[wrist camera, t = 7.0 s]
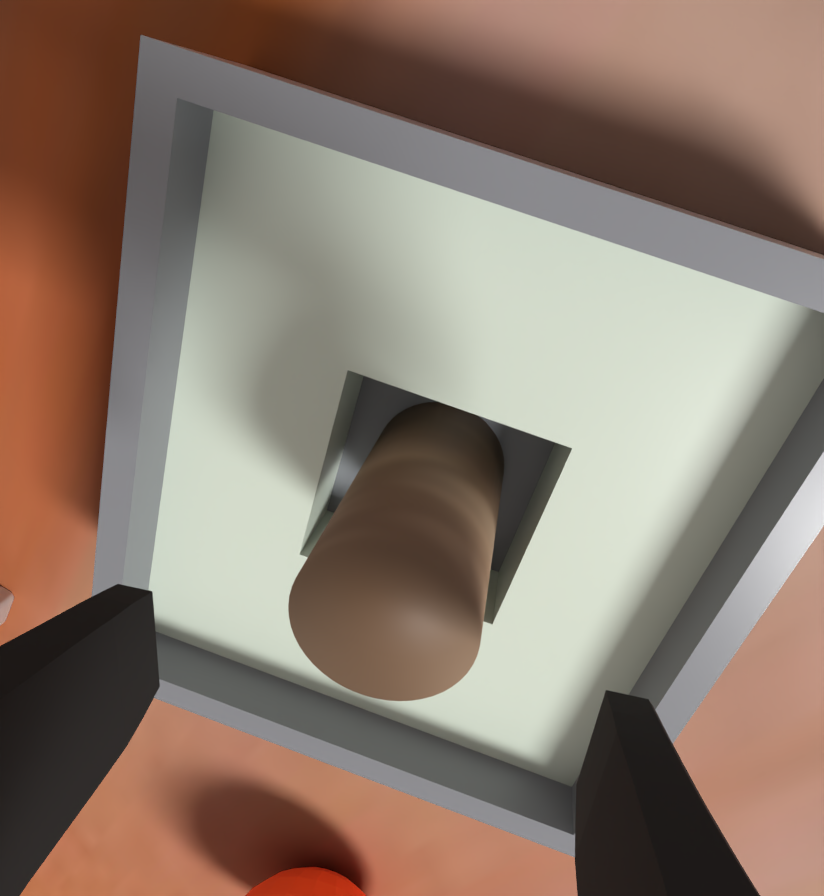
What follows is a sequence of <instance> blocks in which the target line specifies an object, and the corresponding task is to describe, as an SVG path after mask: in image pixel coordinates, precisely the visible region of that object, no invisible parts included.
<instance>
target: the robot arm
mask: <svg viewBox="0 0 824 896" xmlns="http://www.w3.org/2000/svg"><path fill="white" fill-rule="evenodd" d="M159 687H160V683H159V670H158V657H157V644H156V631H155V618H154V605H153V592H152V591H149V590H144V589H140V588H135V587H130V586H126V585H121V584H116V585H114V586H112V587H110V588H108V589H106V590H104V591H102V592H100V593H98V594H96V595H94V596H93V597H91V598H89V599H87V600H85V601H83V602H81V603H79V604H78V605H76V606H74V607H72V608H70V609H68V610H66V611H65V612H63V613H61V614H59V615H57V616H55V617H54V618H52V619H50V620H48V621H46V622H44V623H43V624H41V625H39V626H37V627H35V628H33V629H31V630H30V631H28V632H26V633H24V634H22V635H20V636H18V637H16V638H15V639H13V640H11V641H9V642H7V643H5V644H3V645H1V646H0V896H20V894H21V893H22V891H23V890H24V888H25V887H26V885H27V884H28V882H29V881H30V880H31V878H32V877H33V875H34V874H35V873H36V871H37V870H38V869H39V867H40V866H41V864H42V863H43V862H44V860H45V859H46V858H47V856H48V855H49V853H50V852H51V851H52V849H53V848H54V847H55V845H56V844H57V842H58V841H59V840H60V838H61V837H62V836H63V834H64V833H65V831H66V830H67V829H68V827H69V826H70V825H71V823H72V822H73V820H74V819H75V818H76V816H77V815H78V814H79V812H80V811H81V809H82V808H83V807H84V805H85V804H86V803H87V801H88V800H89V798H90V797H91V796H92V794H93V793H94V791H95V790H96V789H97V787H98V786H99V784H100V783H101V782H102V780H103V779H104V777H105V776H106V775H107V773H108V772H109V770H110V769H111V768H112V766H113V765H114V763H115V762H116V761H117V759H118V758H119V756H120V755H121V754H122V752H123V751H124V749H125V748H126V746H127V745H128V743H129V741H130V740H131V738H132V736H133V734H134V733H135V731H136V729H137V727H138V726H139V724H140V722H141V720H142V719H143V717H144V715H145V713H146V711H147V709H148V708H149V706H150V704H151V702H152V700H153V698H154V696H155V694H156V693H157V691H158V689H159ZM575 866H576V879H577V891H578V896H760V895H759V893H758V892H757V890H756V888H755V887H754V885H753V884H752V882H751V880H750V879H749V877H748V876H747V874H746V872H745V871H744V869H743V867H742V866H741V864H740V863H739V861H738V859H737V858H736V856H735V854H734V853H733V851H732V849H731V847H730V846H729V844H728V842H727V841H726V839H725V837H724V836H723V834H722V832H721V830H720V829H719V827H718V825H717V824H716V822H715V820H714V818H713V817H712V815H711V813H710V812H709V810H708V808H707V806H706V805H705V803H704V801H703V799H702V797H701V796H700V794H699V792H698V790H697V789H696V787H695V785H694V783H693V781H692V779H691V777H690V776H689V774H688V772H687V770H686V768H685V766H684V765H683V763H682V761H681V759H680V757H679V755H678V753H677V751H676V749H675V748H674V746H673V744H672V742H671V740H670V738H669V736H668V734H667V732H666V730H665V728H664V726H663V724H662V722H661V720H660V718H659V716H658V714H657V712H656V710H655V708H654V707H653V705H652V704H651V702H650V701H649V699H646V698H641V697H636V696H632V695H627V694H623V693H618V692H613V691H609V690H606V691H605V694H604V698H603V701H602V704H601V707H600V710H599V714H598V717H597V720H596V723H595V727H594V730H593V733H592V736H591V739H590V743H589V746H588V749H587V752H586V755H585V759H584V762H583V765H582V768H581V772H580V775H579V778H578V781H577V784H576V816H575Z"/></svg>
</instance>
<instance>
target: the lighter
mask: <svg viewBox="0 0 824 896" xmlns="http://www.w3.org/2000/svg"><path fill="white" fill-rule="evenodd" d="M13 600H14V596H13V594H12V592H10V591H9V590H7V589H5V588H3V587H2V586H0V625H1V624H2V623H4V622H5V621H6V618H7V616H8V613H9V610H10V608H11V605H12V602H13Z"/></svg>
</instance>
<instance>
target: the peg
mask: <svg viewBox="0 0 824 896" xmlns="http://www.w3.org/2000/svg"><path fill="white" fill-rule="evenodd" d="M503 475H504V456H503V450H502V448H501V445H500V442H499V440H498V438H497V436H496V435H495V433H494V432H493V430H492V429H491V428H490V426H489V425H488V424H487V423H486V422H485V421H484V420H483V419H481V418H480V417H479V416H478V415H475V414H472V413H469V412H466V411H464V410H461V409H458V408H455V407H452V406H449V405H446V404H444V403H441V402H427V403H421V404H418V405H414V406H411V407H409V408H407V409H405V410H403V411H402V412H400V413H398V414H397V415H396V416H395V417H394V418H392V419H391V421H390V422H389V423H388V424H387V425H386V427H385V428H384V430H383V431H382V433H381V435H380V436H379V438H378V440H377V441H376V443H375V445H374V446H373V448H372V450H371V452H370V453H369V455H368V457H367V458H366V460H365V462H364V463H363V465H362V467H361V468H360V470H359V472H358V474H357V475H356V477H355V479H354V480H353V482H352V484H351V485H350V487H349V489H348V490H347V492H346V494H345V496H344V497H343V499H342V501H341V502H340V504H339V506H338V507H337V509H336V511H335V512H334V514H333V516H332V517H331V519H330V521H329V523H328V524H327V526H326V528H325V529H324V531H323V533H322V534H321V536H320V538H319V539H318V541H317V543H316V545H315V546H314V548H313V550H312V551H311V553H310V555H309V556H308V558H307V560H306V561H305V563H304V565H303V567H302V568H301V570H300V572H299V573H298V575H297V577H296V579H295V581H294V583H293V585H292V588H291V591H290V595H289V603H288V612H289V620H290V625H291V628H292V631H293V634H294V637H295V639H296V641H297V642H298V644H299V646H300V648H301V649H302V651H303V652H304V654H305V655H306V656H307V658H308V659H309V660H310V661H311V662H312V663H313V665H315V666H316V667H317V668H318V669H319V670H320V671H321V672H322V673H323V674H325V675H326V676H327V677H329V678H330V679H331V680H333V681H335V682H336V683H338V684H339V685H341V686H343V687H345V688H347V689H349V690H351V691H354V692H356V693H359V694H362V695H364V696H368V697H372V698H376V699H382V700H388V701H413V700H419V699H424V698H428V697H432V696H435V695H437V694H439V693H442V692H444V691H446V690H447V689H449V688H451V687H453V686H454V685H455V684H456V683H458V682H459V681H460V680H461V679H462V678H463V677H464V676H465V675H466V674H467V673H468V671H469V670H470V669H471V667H472V666H473V664H474V662H475V660H476V657H477V655H478V651H479V648H480V642H481V635H482V628H483V621H484V613H485V606H486V599H487V592H488V584H489V577H490V570H491V562H492V555H493V548H494V541H495V533H496V526H497V519H498V511H499V504H500V497H501V490H502V482H503Z"/></svg>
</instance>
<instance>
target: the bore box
mask: <svg viewBox="0 0 824 896" xmlns="http://www.w3.org/2000/svg"><path fill="white" fill-rule="evenodd" d="M427 402H441V403H444V404H446V405H449V406H452V407H455V408H458V409H461V410H464V411H466V412H469V413H472V414H475V415H478V416H479V417H480V418H481V419H483V420H484V421H485V422H486V423H487V424H488V425H489V426H490V428H491V429H492V430H493V432H494V433H495V435H496V436H497V438H498V440H499V442H500V445H501V448H502V450H503V456H504V475H503V482H502V490H501V497H500V504H499V511H498V519H497V526H496V533H495V541H494V548H493V555H492V562H491V570H490V577H489V584H488V592H487V599H486V606H485V613H484V621H483V628H482V635H481V642H480V648H479V651H478V655H477V657H476V660H475V662H474V664H473V666H472V667H471V669H470V670H469V671H468V673H467V674H466V675H465V676H464V677H463V678H462V679H461V680H460V681H459V682H458V683H456V684H455V685H454V686H453V687H451V688H449V689H447V690H446V691H444V692H442V693H439V694H437V695H435V696H432V697H428V698H424V699H419V700H413V701H388V700H382V699H376V698H372V697H368V696H364V695H362V694H359V693H356V692H354V691H351V690H349V689H347V688H345V687H343V686H341V685H339V684H338V683H336V682H335V681H333V680H331V679H330V678H329V677H327V676H326V675H325V674H323V673H322V672H321V671H320V670H319V669H318V668H317V667H316V666H315V665H313V663H312V662H311V661H310V660H309V659H308V658H307V656H306V655H305V654H304V652H303V651H302V649H301V648H300V646H299V644H298V642H297V641H296V639H295V637H294V634H293V631H292V628H291V625H290V620H289V612H288V603H289V595H290V591H291V588H292V585H293V583H294V581H295V579H296V577H297V575H298V573H299V572H300V570H301V568H302V567H303V565H304V563H305V561H306V560H307V558H308V556H309V555H310V553H311V551H312V550H313V548H314V546H315V545H316V543H317V541H318V539H319V538H320V536H321V534H322V533H323V531H324V529H325V528H326V526H327V524H328V523H329V521H330V519H331V517H332V516H333V514H334V512H335V511H336V509H337V507H338V506H339V504H340V502H341V501H342V499H343V497H344V496H345V494H346V492H347V490H348V489H349V487H350V485H351V484H352V482H353V480H354V479H355V477H356V475H357V474H358V472H359V470H360V468H361V467H362V465H363V463H364V462H365V460H366V458H367V457H368V455H369V453H370V452H371V450H372V448H373V446H374V445H375V443H376V441H377V440H378V438H379V436H380V435H381V433H382V431H383V430H384V428H385V427H386V425H387V424H388V423H389V422H390V421H391V419H392V418H394V417H395V416H396V415H397V414H398V413H400V412H402V411H403V410H405V409H407V408H409V407H411V406H414V405H418V404H421V403H427ZM823 526H824V255H822V254H819V253H816V252H813V251H810V250H807V249H804V248H801V247H798V246H795V245H792V244H789V243H786V242H783V241H780V240H777V239H774V238H770V237H767V236H764V235H761V234H758V233H755V232H752V231H749V230H746V229H743V228H740V227H737V226H734V225H731V224H728V223H725V222H722V221H719V220H716V219H713V218H710V217H707V216H704V215H701V214H697V213H694V212H691V211H688V210H685V209H682V208H679V207H676V206H673V205H670V204H667V203H664V202H661V201H658V200H655V199H652V198H649V197H646V196H643V195H640V194H637V193H634V192H631V191H627V190H624V189H621V188H618V187H615V186H612V185H609V184H606V183H603V182H600V181H597V180H594V179H591V178H588V177H585V176H582V175H579V174H576V173H573V172H570V171H567V170H564V169H561V168H557V167H554V166H551V165H548V164H545V163H542V162H539V161H536V160H533V159H530V158H527V157H524V156H521V155H518V154H515V153H512V152H509V151H506V150H503V149H500V148H497V147H494V146H491V145H487V144H484V143H481V142H478V141H475V140H472V139H469V138H466V137H463V136H460V135H457V134H454V133H451V132H448V131H445V130H442V129H439V128H436V127H433V126H430V125H427V124H424V123H421V122H417V121H414V120H411V119H408V118H405V117H402V116H399V115H396V114H393V113H390V112H387V111H384V110H381V109H378V108H375V107H372V106H369V105H366V104H363V103H360V102H357V101H354V100H351V99H347V98H344V97H341V96H338V95H335V94H332V93H329V92H326V91H323V90H320V89H317V88H314V87H311V86H308V85H305V84H302V83H299V82H296V81H293V80H290V79H287V78H284V77H281V76H277V75H274V74H271V73H268V72H265V71H262V70H259V69H256V68H253V67H250V66H247V65H244V64H240V63H237V62H233V61H230V60H227V59H223V58H220V57H216V56H213V55H209V54H206V53H202V52H199V51H195V50H192V49H189V48H185V47H182V46H178V45H175V44H171V43H168V42H164V41H161V40H157V39H154V38H151V37H147V36H144V35H141V36H140V47H139V59H138V70H137V82H136V93H135V105H134V117H133V128H132V140H131V151H130V163H129V174H128V186H127V197H126V209H125V220H124V232H123V243H122V255H121V266H120V278H119V289H118V301H117V312H116V324H115V335H114V347H113V359H112V370H111V382H110V393H109V405H108V416H107V428H106V439H105V451H104V462H103V474H102V485H101V497H100V508H99V520H98V531H97V543H96V554H95V566H94V578H93V589H92V597H93V596H94V595H96V594H98V593H100V592H102V591H104V590H106V589H108V588H110V587H112V586H114V585H116V584H121V585H126V586H130V587H135V588H140V589H144V590H149V591H152V592H153V605H154V618H155V631H156V644H157V657H158V670H159V683H160V687H159V689H158V691H157V693H156V694H155V696H154V698H156V699H158V700H161V701H164V702H166V703H169V704H171V705H174V706H177V707H179V708H182V709H185V710H187V711H190V712H193V713H195V714H198V715H201V716H203V717H206V718H208V719H211V720H214V721H216V722H219V723H222V724H224V725H227V726H230V727H232V728H235V729H237V730H240V731H243V732H245V733H248V734H251V735H253V736H256V737H259V738H261V739H264V740H267V741H269V742H272V743H274V744H277V745H280V746H282V747H285V748H288V749H290V750H293V751H296V752H298V753H301V754H303V755H306V756H309V757H311V758H314V759H317V760H319V761H322V762H325V763H327V764H330V765H333V766H335V767H338V768H340V769H343V770H346V771H348V772H351V773H354V774H356V775H359V776H362V777H364V778H367V779H370V780H372V781H375V782H377V783H380V784H383V785H385V786H388V787H391V788H393V789H396V790H399V791H401V792H404V793H406V794H409V795H412V796H414V797H417V798H420V799H422V800H425V801H428V802H430V803H433V804H436V805H438V806H441V807H443V808H446V809H449V810H451V811H454V812H457V813H459V814H462V815H465V816H467V817H470V818H472V819H475V820H478V821H480V822H483V823H486V824H488V825H491V826H494V827H496V828H499V829H502V830H504V831H507V832H509V833H512V834H515V835H517V836H520V837H523V838H525V839H528V840H531V841H533V842H536V843H538V844H541V845H544V846H546V847H549V848H552V849H554V850H557V851H560V852H562V853H565V854H568V855H570V856H573V857H575V816H576V784H577V781H578V778H579V775H580V772H581V768H582V765H583V762H584V759H585V755H586V752H587V749H588V746H589V743H590V739H591V736H592V733H593V730H594V727H595V723H596V720H597V717H598V714H599V710H600V707H601V704H602V701H603V698H604V694H605V691H606V690H609V691H613V692H618V693H623V694H627V695H632V696H636V697H641V698H646V699H649V701H650V702H651V704H652V705H653V707H654V708H655V710H656V712H657V714H658V716H659V718H660V720H661V722H662V724H663V726H664V728H665V730H666V732H667V734H668V736H669V738H670V740H671V742H672V744H673V743H674V741H675V740H676V738H677V737H678V735H679V734H680V733H681V731H682V730H683V728H684V727H685V725H686V724H687V722H688V721H689V720H690V718H691V717H692V715H693V714H694V712H695V711H696V709H697V708H698V707H699V705H700V704H701V702H702V701H703V699H704V698H705V696H706V695H707V694H708V692H709V691H710V689H711V688H712V686H713V685H714V683H715V682H716V681H717V679H718V678H719V676H720V675H721V673H722V672H723V670H724V669H725V668H726V666H727V665H728V663H729V662H730V660H731V659H732V657H733V656H734V655H735V653H736V652H737V650H738V649H739V647H740V646H741V644H742V643H743V642H744V640H745V639H746V637H747V636H748V634H749V633H750V631H751V630H752V629H753V627H754V626H755V624H756V623H757V621H758V620H759V618H760V617H761V616H762V614H763V613H764V611H765V610H766V608H767V607H768V605H769V604H770V603H771V601H772V600H773V598H774V597H775V595H776V594H777V593H778V591H779V590H780V588H781V587H782V585H783V584H784V582H785V581H786V580H787V578H788V577H789V575H790V574H791V572H792V571H793V569H794V568H795V567H796V565H797V564H798V562H799V561H800V559H801V558H802V556H803V555H804V554H805V552H806V551H807V549H808V548H809V546H810V545H811V543H812V542H813V541H814V539H815V538H816V536H817V535H818V533H819V532H820V530H821V529H822V528H823Z"/></svg>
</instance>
